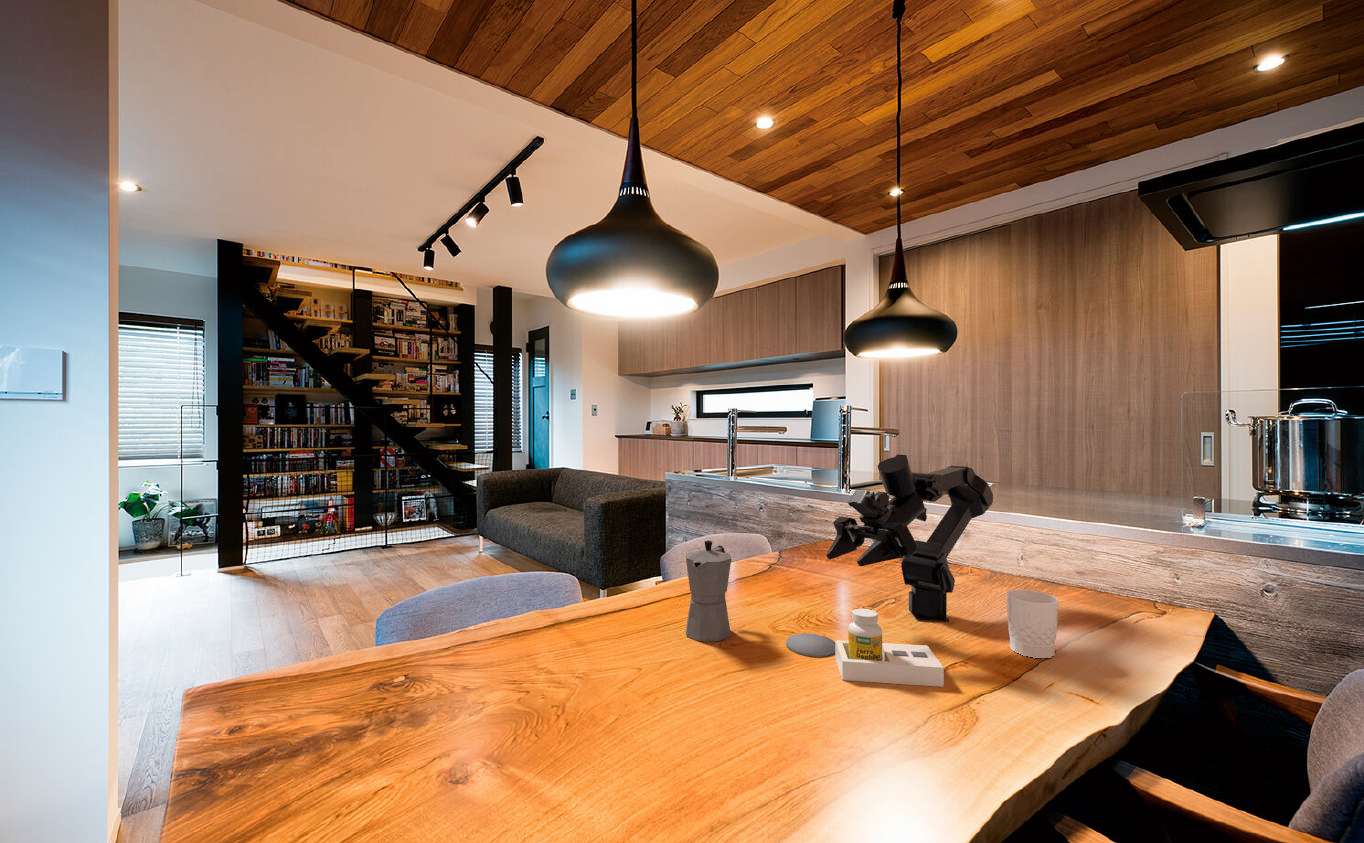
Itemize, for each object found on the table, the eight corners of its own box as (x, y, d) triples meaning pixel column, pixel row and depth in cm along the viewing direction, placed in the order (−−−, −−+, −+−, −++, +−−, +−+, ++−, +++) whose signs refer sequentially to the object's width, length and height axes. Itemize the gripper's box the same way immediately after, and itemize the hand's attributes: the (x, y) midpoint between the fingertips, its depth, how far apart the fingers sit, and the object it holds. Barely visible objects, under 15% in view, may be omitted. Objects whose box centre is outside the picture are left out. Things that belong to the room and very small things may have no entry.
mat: (833, 638, 105) (833, 635, 105) (840, 658, 96) (840, 654, 96) (785, 635, 106) (785, 632, 106) (787, 655, 97) (787, 651, 97)
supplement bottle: (876, 663, 94) (876, 607, 94) (886, 678, 89) (887, 618, 89) (844, 662, 94) (844, 606, 94) (853, 677, 89) (853, 617, 89)
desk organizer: (927, 663, 94) (927, 644, 94) (943, 686, 86) (943, 666, 86) (835, 657, 96) (835, 639, 96) (842, 680, 88) (842, 660, 88)
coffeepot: (719, 650, 99) (720, 550, 99) (672, 641, 103) (672, 545, 103) (744, 621, 114) (744, 534, 114) (701, 615, 117) (701, 530, 117)
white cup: (1017, 639, 105) (1017, 586, 105) (1065, 653, 98) (1065, 597, 98) (998, 649, 100) (998, 594, 100) (1047, 665, 94) (1047, 606, 94)
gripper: (847, 479, 117) (794, 521, 112) (913, 479, 100) (854, 528, 94) (872, 523, 118) (820, 567, 113) (940, 531, 101) (884, 583, 96)
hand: (842, 560), depth 104 cm, fingers open, 9 cm apart
